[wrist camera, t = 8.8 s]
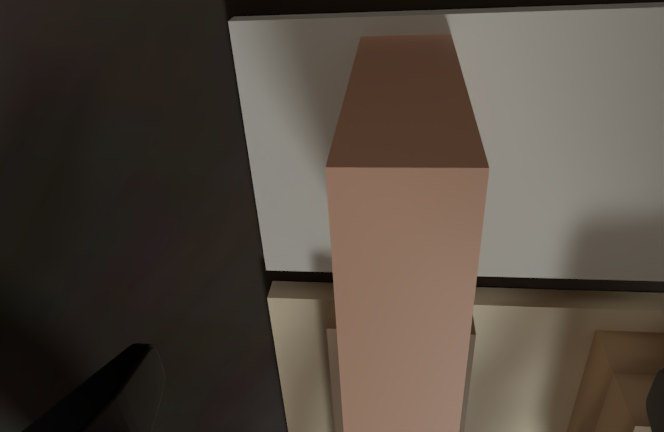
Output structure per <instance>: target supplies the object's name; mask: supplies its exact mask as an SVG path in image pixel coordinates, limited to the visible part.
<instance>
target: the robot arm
mask: <svg viewBox="0 0 664 432" xmlns="http://www.w3.org/2000/svg"><path fill="white" fill-rule="evenodd" d="M164 385H165V371H164V368H163V365H162V362H161V359H160V356H159V353H158V350H157V348H156V347H155V346H154V345H153V344H140V343H136V344H132V345H130V346H129V347H128V348H126V349H125V350H124V351H123V352H121V353H120V354H119V355H118V356H116V357H115V358H114V359H113V360H111V361H110V362H109V363H107V364H106V365H105V366H104V367H102V368H101V369H100V370H99V371H97V372H96V373H95V374H94V375H92V376H91V377H90V378H89V379H87V380H86V381H85V382H83V383H82V384H81V385H80V386H78V387H77V388H76V389H75V390H73V391H72V392H71V393H70V394H68V395H67V396H66V397H65V398H63V399H62V400H61V401H59V402H58V403H57V404H56V405H54V406H53V407H52V408H51V409H49V410H48V411H47V412H46V413H44V414H43V415H42V416H41V417H39V418H38V419H37V420H35V421H34V422H33V423H32V424H30V425H29V426H28V427H27V428H25V429H24V430H23V431H22V432H152V429H153V425H154V422H155V418H156V414H157V411H158V407H159V404H160V400H161V396H162V393H163V389H164ZM646 412H647V416H648V420H649V424H650V427H651V431H652V432H664V367H663V368H660V369H659V370H658V371H657V373H656V375H655V377H654V380H653V382H652V385H651V387H650V390H649V393H648V395H647V398H646Z"/></svg>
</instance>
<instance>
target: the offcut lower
mask: <svg viewBox="0 0 664 432" xmlns="http://www.w3.org/2000/svg"><path fill="white" fill-rule="evenodd" d="M663 367H664V333H656V332H631V331H605V330H595V334H594V337H593V341H592V344H591V348H590V351H589V355H588V359H587V362H586V366H585V369H584V373H583V376H582V380H581V383H580V387H579V390H578V394H577V397H576V401H575V404H574V408H573V411H572V415H571V418H570V422H569V425H568V429H567V432H595V429H596V426H597V423H598V420H599V417H600V414H601V410H602V407H603V404H604V401H605V398H606V395H607V392H608V389H609V386H610V383H611V380H612V377H613V374H634V375H654V376H655V375H656V373H657V371H658V370H659V369H660V368H663Z"/></svg>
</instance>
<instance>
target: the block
mask: <svg viewBox="0 0 664 432" xmlns="http://www.w3.org/2000/svg"><path fill="white" fill-rule="evenodd" d="M325 169H326V184H327V198H328V213H329V227H330V242H331V256H332V271H333V285H334V300H335V314H336V329H337V343H338V358H339V372H340V387H341V401H342V416H343V430H344V432H459V430H460V421H461V412H462V404H463V395H464V386H465V377H466V369H467V360H468V351H469V342H470V334H471V325H472V316H473V308H474V299H475V290H476V281H477V273H478V264H479V255H480V247H481V238H482V229H483V220H484V212H485V203H486V194H487V185H488V177H489V164H488V161H487V157H486V154H485V150H484V147H483V143H482V140H481V136H480V133H479V129H478V126H477V122H476V119H475V115H474V112H473V108H472V105H471V101H470V98H469V94H468V91H467V87H466V84H465V80H464V77H463V73H462V70H461V66H460V63H459V59H458V56H457V52H456V49H455V45H454V42H453V38H452V35H451V34H432V35H396V36H361V37H360V41H359V45H358V48H357V52H356V56H355V59H354V63H353V67H352V71H351V74H350V78H349V82H348V85H347V89H346V93H345V96H344V100H343V104H342V108H341V111H340V115H339V119H338V122H337V126H336V130H335V134H334V137H333V141H332V145H331V148H330V152H329V156H328V160H327V163H326V167H325Z"/></svg>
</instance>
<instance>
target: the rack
mask: <svg viewBox="0 0 664 432" xmlns="http://www.w3.org/2000/svg"><path fill="white" fill-rule="evenodd" d="M267 300H268V306H269V313H270V319H271V325H272V332H273V338H274V344H275V351H276V357H277V363H278V370H279V376H280V382H281V389H282V395H283V401H284V408H285V414H286V420H287V427H288V432H344V430H343V416H342V401H341V387H340V372H339V358H338V343H337V329H336V314H335V300H334V285H333V283H325V282H292V281H272V284H271V287H270V291H269V294H268V297H267ZM595 330H605V331H631V332H656V333H664V293H654V292H621V291H588V290H555V289H522V288H489V287H476V290H475V299H474V308H473V316H472V325H471V334H470V342H469V351H468V360H467V369H466V377H465V386H464V395H463V404H462V412H461V421H460V430H459V432H567V429H568V425H569V422H570V418H571V415H572V411H573V408H574V404H575V401H576V397H577V394H578V390H579V387H580V383H581V380H582V376H583V373H584V369H585V366H586V362H587V359H588V355H589V351H590V348H591V344H592V341H593V337H594V334H595Z"/></svg>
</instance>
